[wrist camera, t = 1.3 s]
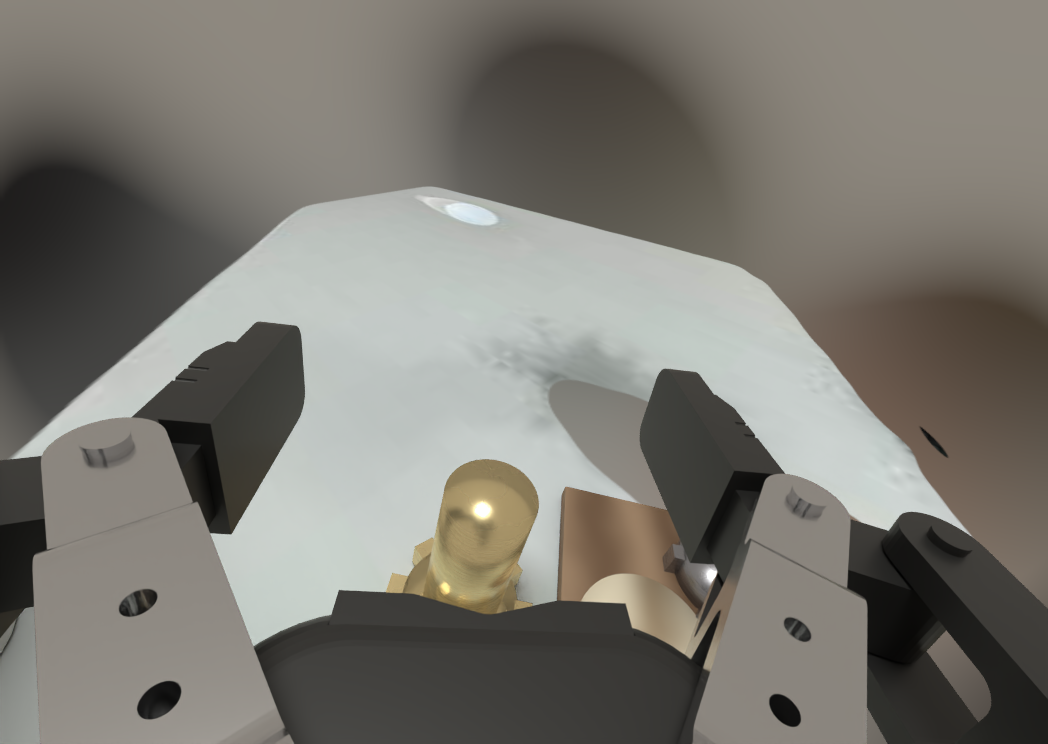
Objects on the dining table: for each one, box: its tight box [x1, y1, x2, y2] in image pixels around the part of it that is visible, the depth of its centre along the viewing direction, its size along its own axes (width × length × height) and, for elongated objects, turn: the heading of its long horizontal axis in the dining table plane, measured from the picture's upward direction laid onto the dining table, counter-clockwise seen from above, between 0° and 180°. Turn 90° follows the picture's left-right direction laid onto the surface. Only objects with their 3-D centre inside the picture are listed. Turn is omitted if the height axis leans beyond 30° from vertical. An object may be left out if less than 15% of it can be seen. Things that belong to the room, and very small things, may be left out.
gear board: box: [557, 487, 698, 654], centre depth 35 cm, size 18×20×1 cm
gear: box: [662, 540, 717, 619], centre depth 38 cm, size 10×9×4 cm
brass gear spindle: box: [386, 459, 539, 614], centre depth 29 cm, size 10×10×13 cm
